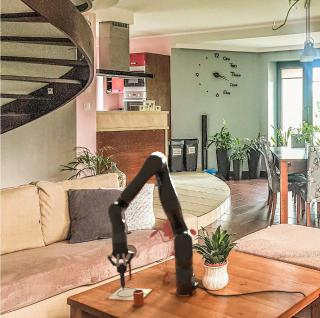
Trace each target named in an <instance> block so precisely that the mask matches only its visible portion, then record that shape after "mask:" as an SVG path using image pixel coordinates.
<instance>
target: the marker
mask: <svg viewBox="0 0 320 318" xmlns="http://www.w3.org/2000/svg"><path fill="white" fill-rule="evenodd" d="M119 267H120V273H119V278H120V279H119V280H120V287H122V289H124V288H125V287H126V276H125V273H124V262H123V261H122V262H119Z"/></svg>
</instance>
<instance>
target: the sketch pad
mask: <svg viewBox="0 0 320 318" xmlns="http://www.w3.org/2000/svg"><path fill="white" fill-rule="evenodd" d="M138 289H141V290H143V294H144V298H145V297H147V295H148V294H149V293H150V292H151V291H152V290H153V289H152V288H138V287H124V289H122V286H120V288H119V289H117V290H116V291H114V292H113V293H112V294H111V295H110V296H109V297H107V299H109V300H121V301H122V300H125V301H134V297H133V291H135V290H138Z"/></svg>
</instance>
